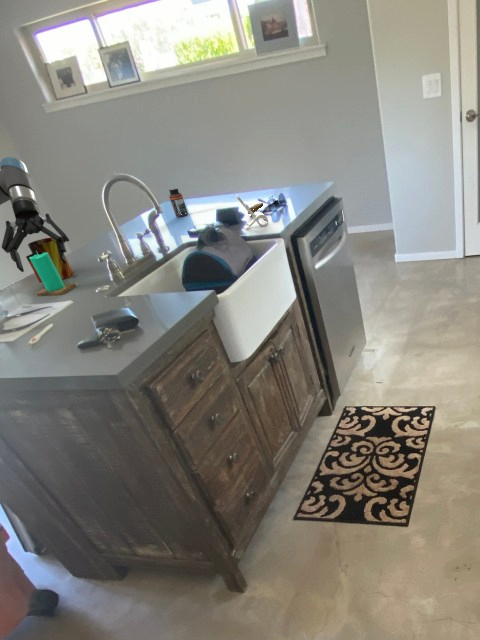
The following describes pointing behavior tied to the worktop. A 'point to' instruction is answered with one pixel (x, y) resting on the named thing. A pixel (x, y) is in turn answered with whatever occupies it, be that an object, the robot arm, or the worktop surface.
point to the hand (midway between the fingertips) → (42, 265)
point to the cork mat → (56, 292)
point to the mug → (51, 248)
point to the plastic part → (254, 216)
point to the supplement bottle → (178, 202)
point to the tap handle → (256, 207)
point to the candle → (47, 271)
